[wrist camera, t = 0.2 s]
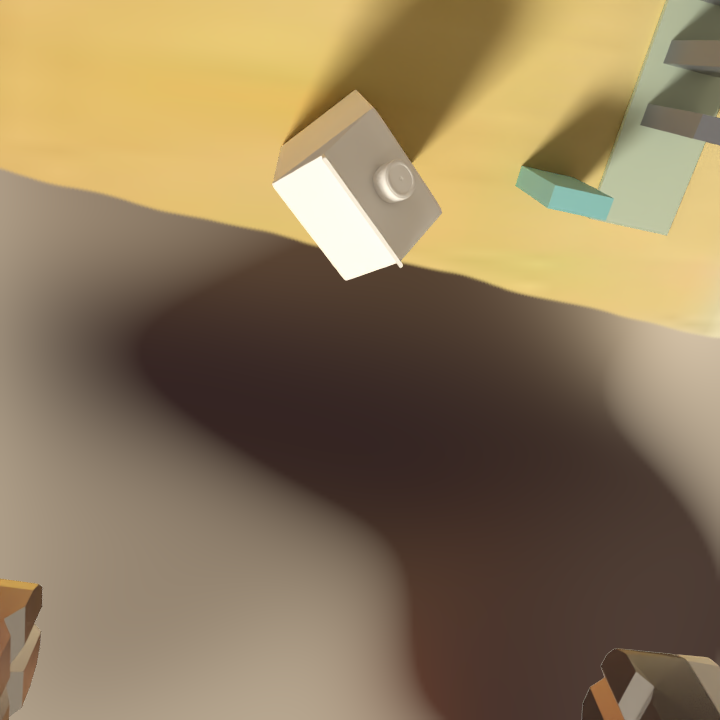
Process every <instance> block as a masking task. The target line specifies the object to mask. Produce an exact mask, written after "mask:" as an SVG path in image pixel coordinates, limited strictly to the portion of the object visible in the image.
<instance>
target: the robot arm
mask: <svg viewBox="0 0 720 720" xmlns="http://www.w3.org/2000/svg"><path fill="white" fill-rule="evenodd" d="M41 608H42V586H41V585H39V584H35V583H28V582H21V581H13V580H6V579H0V720H9V717H10V716H11V715H12V714H13V713H15V712H16V711H18V710H19V709H20V708H22V706H23V703H24V701H25V698H26V696H27V694H28V691H29V688H30V686H31V682H32V679H33V675H34V672H35V669H36V665H37V661H38V655H39V650H40V641H41V631H40V630H39V628H38V627H37V626H36V625H35V624H34V623H35V621H36V619H37V617H38V614H39V612H40V610H41ZM601 669H602V671H603V674H604V677H605V678H603V679H602V680H600V681H599V682H597V683H596V684H594V685H593V686H591V687H590V688H589V691H588V693H587V695H586V697H585V699H584V702H583V706H582V720H720V667H719V666H718V665H717V664H716V663H715V662H713V661H712V660H711V659H710V658H707V657H697V656H687V655H673V654H667V653H657V652H648V651H638V650H628V649H618V648H615V649H614V650H612V651H611V652H609V653H608V654H607V655H606V657H605V659H604V661H603V663H602V665H601Z"/></svg>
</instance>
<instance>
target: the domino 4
mask: <svg viewBox="0 0 720 720" xmlns="http://www.w3.org/2000/svg"><path fill="white" fill-rule="evenodd" d="M700 1H704V2H707V3H711V4H715V5H718V6H720V0H700Z"/></svg>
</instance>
